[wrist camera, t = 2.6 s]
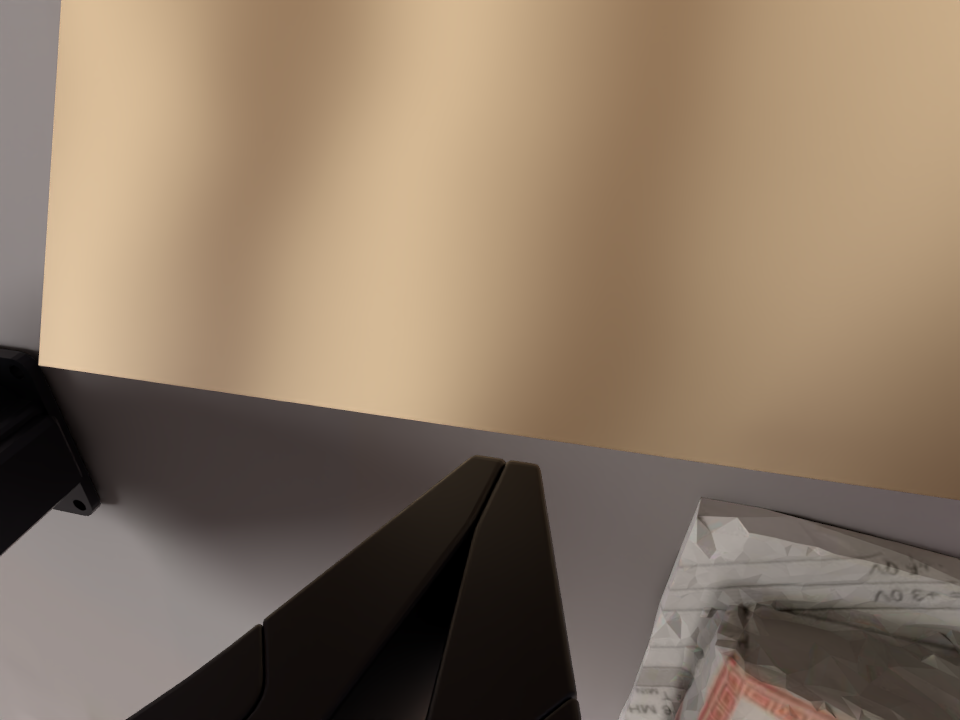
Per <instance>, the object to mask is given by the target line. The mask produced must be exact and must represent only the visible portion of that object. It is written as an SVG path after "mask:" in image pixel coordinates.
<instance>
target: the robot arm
mask: <svg viewBox="0 0 960 720" xmlns="http://www.w3.org/2000/svg"><path fill="white" fill-rule="evenodd" d="M100 504H101V503H100V499H99V497H98V495H97V492H96V490H95V488H94V486H93V484H92V481H91V479H90V477H89V475H88V472H87V470H86V468H85V466H84V463H83V461H82V459H81V457H80V455H79V452H78V450H77V448H76V446H75V443H74V441H73V439H72V437H71V435H70V432H69V430H68V428H67V426H66V423H65V421H64V419H63V417H62V415H61V412H60V410H59V408H58V406H57V403H56V401H55V399H54V397H53V394H52V392H51V390H50V388H49V386H48V383H47V381H46V379H45V377H44V374H43V372H42V370H41V368H40V366H39V365H38V363H37V362H36V361H35V360H34V359H33V358H32V357H31V356H30V355H28V354H26V353H23V352H19V351H12V350H5V349H0V556H1V555H2V554H3V553H5V552H6V551H7V550H8V549H9V548H10V547H11V546H12V545H13V544H14V543H15V542H17V541H18V540H19V539H20V538H21V537H22V536H23V535H24V534H25V533H26V532H27V531H29V530H30V529H31V528H32V527H33V526H34V525H35V524H36V523H37V522H38V521H40V520H41V519H42V518H43V517H44V516H45V515H46V514H47V513H48V512H49V511H50V510H52V509H55V510H60V511H65V512H70V513H74V514H79V515H84V516H89V515H91V514H92V513H93V512H94V511H95V510H96V509H97V508H98V507H99V506H100ZM126 720H581V714H580V707H579V702H578V701H577V691H576V685H575V679H574V673H573V667H572V661H571V654H570V648H569V642H568V636H567V630H566V624H565V617H564V611H563V605H562V599H561V593H560V587H559V581H558V574H557V568H556V562H555V556H554V550H553V544H552V537H551V531H550V525H549V519H548V513H547V507H546V501H545V494H544V488H543V482H542V476H541V470H540V468H539V466H538V465H536V464H532V463H525V462H519V461H509V462H507V463H506V462H505V461H504V460H503V459H500V458H493V457H487V456H480V455H475V456H473V457H471V458H469V459H468V460H467V461H465V462H464V463H463V464H461V465H460V466H459V467H458V468H456V469H455V470H454V471H453V472H451V473H450V474H449V475H447V476H446V477H445V478H444V479H442V480H441V481H440V482H439V483H437V484H436V485H435V486H433V487H432V488H431V489H430V490H428V491H427V492H426V493H425V494H423V495H422V496H421V497H419V498H418V499H417V500H416V501H414V502H413V503H412V504H411V505H409V506H408V507H407V508H405V509H404V510H403V511H402V512H400V513H399V514H398V515H396V516H395V517H394V518H393V519H391V520H390V521H389V522H388V523H386V524H385V525H384V526H382V527H381V528H380V529H379V530H377V531H376V532H375V533H374V534H372V535H371V536H370V537H368V538H367V539H366V540H365V541H363V542H362V543H361V544H360V545H358V546H357V547H356V548H354V549H353V550H352V551H351V552H349V553H348V554H347V555H346V556H344V557H343V558H342V559H340V560H339V561H338V562H337V563H335V564H334V565H333V566H332V567H330V568H329V569H328V570H326V571H325V572H324V573H323V574H321V575H320V576H319V577H317V578H316V579H315V580H314V581H312V582H311V583H310V584H309V585H307V586H306V587H305V588H303V589H302V590H301V591H300V592H298V593H297V594H296V595H295V596H293V597H292V598H291V599H289V600H288V601H287V602H286V603H284V604H283V605H282V606H281V607H279V608H278V609H277V610H275V611H274V612H273V613H272V614H270V615H269V616H268V617H267V618H265V619H264V621H263V626H262V625H261V624H258V625H256V626H255V627H253V628H252V629H251V630H250V631H248V632H247V633H246V634H244V635H243V636H242V637H241V638H239V639H238V640H237V641H236V642H234V643H233V644H232V645H230V646H229V647H228V648H226V649H225V650H224V651H222V652H221V653H220V654H218V655H217V656H216V657H214V658H213V659H212V660H210V661H209V662H208V663H206V664H205V665H204V666H202V667H201V668H200V669H198V670H197V671H196V672H194V673H193V674H192V675H190V676H189V677H188V678H186V679H185V680H183V681H182V682H180V683H179V684H177V685H176V686H175V687H173V688H172V689H170V690H169V691H167V692H166V693H164V694H163V695H161V696H160V697H158V698H157V699H156V700H154V701H153V702H151V703H150V704H148V705H147V706H145V707H144V708H142V709H141V710H139V711H138V712H137V713H135V714H134V715H132V716H130V717H129V718H127V719H126Z"/></svg>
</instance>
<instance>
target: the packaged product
mask: <svg viewBox="0 0 960 720" xmlns="http://www.w3.org/2000/svg"><path fill="white" fill-rule="evenodd" d="M619 720H960V559H957V558H953V557H949V556H946V555H942V554H938V553H935V552H931V551H927V550H923V549H920V548H916V547H912V546H909V545H905V544H901V543H897V542H893V541H889V540H885V539H881V538H877V537H873V536H869V535H865V534H861V533H857V532H853V531H849V530H845V529H841V528H837V527H833V526H829V525H825V524H821V523H816V522H812V521H808V520H804V519H800V518H796V517H792V516H789V515H785V514H782V513H778V512H774V511H771V510H767V509H764V508H758V507H752V506H746V505H741V504H735V503H729V502H724V501H718V500H712V499H707V498H702V497H701V499H700V501H699V504H698V507H697V509H696V512H695V514H694V516H693V519H692V521H691V524H690V526H689V529H688V531H687V533H686V536H685V538H684V541H683V543H682V546H681V548H680V551H679V554H678V556H677V559H676V561H675V564H674V567H673V569H672V572H671V575H670V577H669V580H668V582H667V585H666V588H665V590H664V593H663V595H662V598H661V601H660V603H659V607H658V611H657V615H656V619H655V623H654V627H653V631H652V635H651V639H650V642H649V644H648V647H647V650H646V653H645V655H644V658H643V661H642V663H641V666H640V669H639V672H638V674H637V677H636V680H635V683H634V687H633V690H632V692H631V694H630V696H629V698H628V700H627V702H626V704H625V706H624V708H623V710H622V712H621V714H620V717H619Z"/></svg>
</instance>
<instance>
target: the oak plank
mask: <svg viewBox="0 0 960 720" xmlns="http://www.w3.org/2000/svg"><path fill="white" fill-rule="evenodd" d="M38 365H41V366H48V367H54V368H61V369H68V370H75V371H82V372H88V373H95V374H102V375H109V376H116V377H123V378H129V379H136V380H143V381H150V382H157V383H164V384H170V385H177V386H184V387H191V388H198V389H204V390H211V391H218V392H225V393H232V394H239V395H245V396H252V397H259V398H266V399H273V400H279V401H286V402H293V403H300V404H307V405H314V406H320V407H327V408H334V409H341V410H348V411H355V412H361V413H368V414H375V415H382V416H389V417H395V418H402V419H409V420H416V421H423V422H430V423H436V424H443V425H450V426H457V427H464V428H470V429H477V430H484V431H491V432H498V433H505V434H511V435H518V436H525V437H532V438H539V439H546V440H552V441H559V442H566V443H573V444H580V445H586V446H593V447H600V448H607V449H614V450H621V451H627V452H634V453H641V454H648V455H655V456H661V457H668V458H675V459H682V460H689V461H696V462H702V463H709V464H716V465H723V466H730V467H737V468H743V469H750V470H757V471H764V472H771V473H777V474H784V475H791V476H798V477H805V478H812V479H818V480H825V481H832V482H839V483H846V484H853V485H859V486H866V487H873V488H880V489H887V490H893V491H900V492H907V493H914V494H921V495H928V496H934V497H941V498H948V499H955V500H960V0H61V15H60V31H59V47H58V62H57V78H56V94H55V110H54V126H53V142H52V158H51V174H50V189H49V205H48V221H47V237H46V253H45V269H44V285H43V301H42V316H41V332H40V348H39V364H38Z"/></svg>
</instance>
